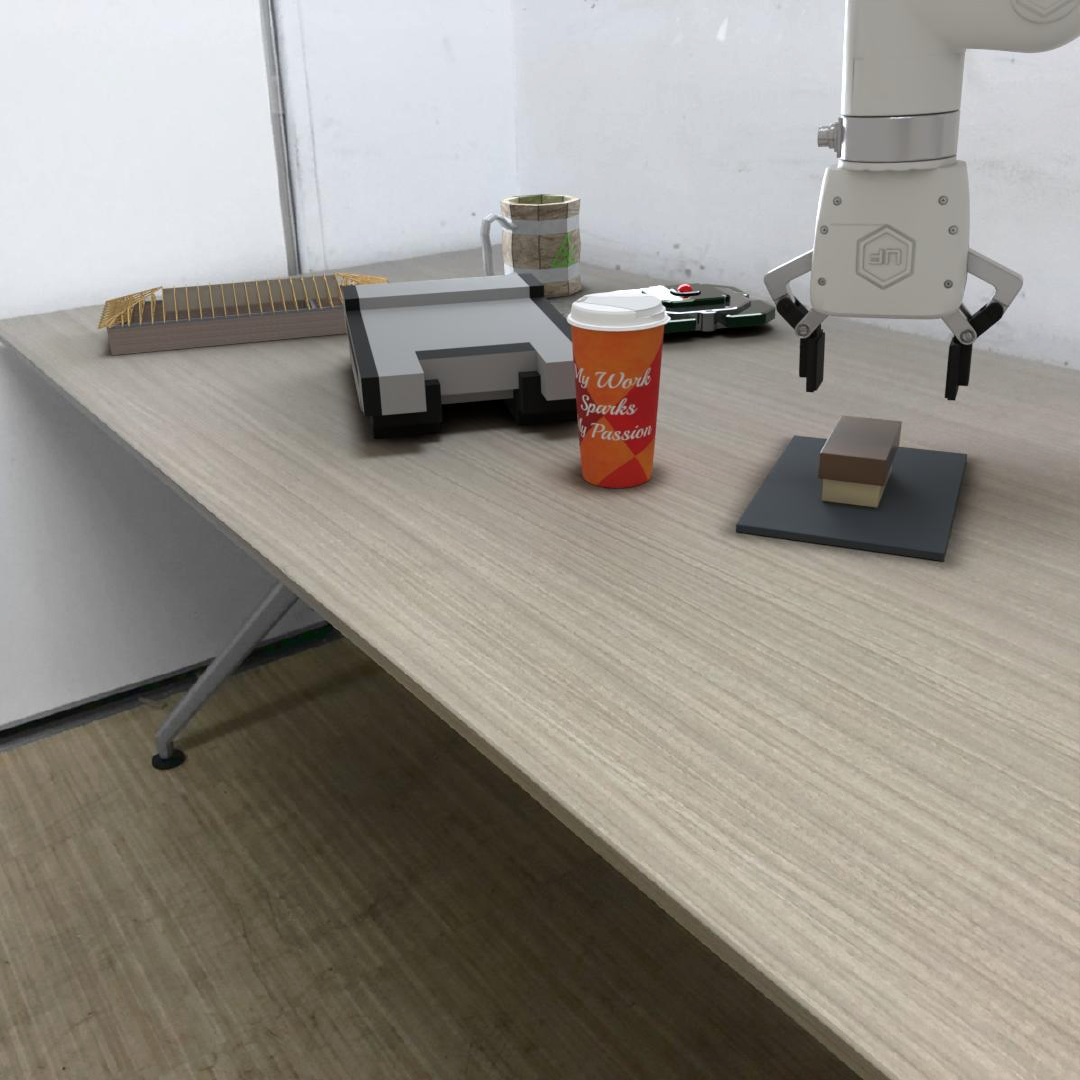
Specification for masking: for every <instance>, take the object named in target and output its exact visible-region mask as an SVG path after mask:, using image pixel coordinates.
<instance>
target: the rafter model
mask: <svg viewBox="0 0 1080 1080" xmlns="http://www.w3.org/2000/svg"><path fill="white" fill-rule="evenodd" d="M337 275H338V276H340V277H341V280H340V282H339V279H338V277H337ZM379 283H391V282H390V281H389V279H387V277H381V276H374V275H373V276H371V275H363V274H354V273H345V272H338V271H337V272H336V271H335V272H334V273H333V274H327V275H326V274H325V273H323V274H322V275H314V274H313V273H312V274H311V276H303V275H300V277H292V276H291V275H289V277H288V278H280V276H278V278H277V279H269V277H266V280H257V279H255V280H253V281H252V280H251V281H246V280H245V279H243V281H241V282H234V280H232V281H231V282H230V283H227V282H226V283H222V282H220V283H215V284H211V282H208V284H205V285H204V284H203V285H199V283H198V282H197V284H196V285H191V286H187V284H185V286H179V287H175V285H174V284H173V287H166V288H165V287H163V286H158V287H154V288H150V289H146V290H142V291H138V292H135V293H131V294H128V295H124V296H120V297H115V298H113V299H109V300H108V299H107V300H105V302H104V305H103V308H102V309H103V310H102V313H101V315H100V319H99V321H98V324H97V327H96V328H97V330H100V329H104V328H105V329H106V331H107V338H108V342H109V348H110V353H111V356H119V355H129V354H130V355H131V354H139V353H151V352H152V353H153V352H160V351H172V350H183V349H193V348H204V347H213V346H225V345H226V346H227V345H236V344H246V343H247V344H248V343H257V342H267V341H279V340H289V339H300V338H310V337H312V338H313V337H320V336H321V337H323V336H332V335H343V334H347V332H346V327H345V317H344V307H343V297H342V287H341V286H350V285H365V284H379ZM159 290H161V298H162V299H157V296H156V294H155V293H156V292H158V291H159ZM149 297H150V300H146V299H147V298H149Z"/></svg>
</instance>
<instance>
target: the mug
mask: <svg viewBox="0 0 1080 1080" xmlns="http://www.w3.org/2000/svg"><path fill="white" fill-rule="evenodd" d="M499 204H500V210H501V214H498V213H495V212H491V213H489V214H488V215H486V216H485V217H484V218H482V220H481V224H480V230H479V236H480V237H479V238H480V244H481V254H482V267H483V274H484V276H495V273H494V264H493V247H492V241H491V237H490V236H491V235H490V234H491V224H492V223H493V222H494V221H496V222H497V223H498V225H499V226H500V227H501V228H502V236H501V250H502V259H503V265H504V266H503V267H504V275H511V274H526V273H531V274H532V275H534V276H535V277H536V278H537V279H538V280H539V281H540V282H541V283H542V284H543V285H544V297H545V298H546V299H548V298H558V297H559V298H560V297H568V296H572V295H573V294H575V293H577V292H579V291H581V290H583V287H582V281H581V251H582V250H581V249H582V243H581V232H580V208H581V198H579V197H576V196H573V195H570V194H548V193H546V194H545V193H539V194H528V195H527V194H525V195H513V196H510V197H507V198H504V199H500V200H499Z"/></svg>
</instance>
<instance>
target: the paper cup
mask: <svg viewBox="0 0 1080 1080" xmlns="http://www.w3.org/2000/svg"><path fill="white" fill-rule="evenodd" d="M665 311H666V308H665V307H664V306H662V302H661V299H659V298H658V297H656V296H653V295H649V294H644V293H634V292H612V291H608V292H607V291H606V292H597V293H596V292H595V293H589V294H585V295H583V296H582V297H579V298H578V299H576V300H575V301H573V303H571V309H570V313H568V315H567V317H566V319H567V322H568V323H569V324H571V330H572V347H573V364H574V376H575V389H576V402H577V416H578V420H577V427H578V440H579V453H580V455H579V456H580V465H581V475H582V478H583V480H584V481H586V482H587V483H589V484H591V485H594V486H598V487H603V488H611V489H623V488H632V487H636V486H637V487H638V486H640V485H644V484H645V483H647V482H648V481H649V480H650V479H651V478H652V474H653V466H654V456H655V446H656V445H655V444H656V432H657V422H658V411H659V409H658V408H659V399H660V398H659V397H660V396H659V395H660V383H661V370H662V369H661V368H662V358H663V357H662V356H663V346H664V334H665V333H664V324H667V323H668V322H669V321H670V317H669V316H668V315H667V313H666V312H665ZM663 333H664V334H663Z"/></svg>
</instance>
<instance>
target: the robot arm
mask: <svg viewBox="0 0 1080 1080" xmlns="http://www.w3.org/2000/svg"><path fill="white" fill-rule="evenodd" d="M844 10H845V11H844V12H845V14H844V16H845V17H844V31H843V32H844V33H843V34H844V35H843V36H844V37H843V57H842V58H843V59H842V79H841V81H842V82H841V98H840V99H841V101H840V104H841V105H840V115H841V116H838V118H837V119H838V120H836V121H835V123H830V124H829V125H823V126H818V130H817V139H816V140H817V141H816V142H817V147H818V148H828V149H831V150H832V149H833V150H834V151H833V152H834V153H836V159H838V162H837V163H833V164H831V165H828V166H826V168H825V171H824V175H823V179H822V183H821V187H820V193H819V194H820V195H819V199H818V204H817V205H818V206H817V212H816V218H815V219H816V220H815V226H814V227H815V228H814V237H813V244H812V245H813V247H812V249H810V250H808V251H807V252H805V253H802V254H800V255H799V256H796V257H794V258H793V259H791V260H789V261H786V262H785V263H782V264H781V265H779V266H777V267H775V268H773V269H771V270H769V271H768V272H767V273H766V274H765V275H764V277H763V284H764V285H765V287H766V290H767V292H768V294H769V295H770V298H771V300H772V301H773V303H774V306H775V308H776V309H775V310H776V312H777V313H778V314H779V316H781V318H783V320H784V321H785V322H786V323H787V324H788V325H789V326H790V327H791V328H792V329H793V330H794V334H795V335H796V336H797V337H798V338H799V356H798V357H799V358H798V360H799V362H798V376H799V378H803V379H804V378H805V379H806V382H805V392H806V393H814V392H817V391H818V390H819V388H820V386H821V385H822V384H823V381H824V373H825V372H824V370H825V368H824V367H825V349H826V346H825V345H826V332H825V331H824V328H822V323H823V322H824V321H825V320H826V319H827V318H828V317H836V318H857V319H859V318H861V319H885V320H886V319H891V320H942V322H943V323H944V324H945V325H946V326H947V328H948V329H949V330H950V331H951V333H952V334H953V336H952V337H951V340H950V342H949V344H948V345H949V346H948V352H947V353H948V355H947V366H946V376H945V387H944V399H947V401H954V402H955V401H956V400H957V395H958V392H959V387H968V386H969V385H970V384H969V383H970V376H971V367H972V366H971V365H972V355H973V346H974V343H975V342H976V340H977V339H978V338H979V337H980V336H982V335H983V334H984V333H986V332H987V331H988V330H989V329H990V328H991V327H993V326H994V325H995V324H997V323H998V322H999V321H1000V320H1002V318H1003V316H1004V315H1005V313H1006V311H1007V310H1008V308H1010V305H1011V304H1012V303H1013V301H1014V300H1015V299H1016V297H1017V295H1018V294H1019V293H1020V291H1021V289H1022V288H1023V286H1024V276H1023V275H1022V274H1020V273H1018V272H1017V271H1014V270H1013V269H1010V268H1009V267H1007V266H1005V265H1003V264H1001V263H999V262H998V261H996V260H994V259H991V258H990V257H988V256H986V255H984V254H982V253H980V252H979V251H977V250H976V249H975V250H974V249H973V248H972V247H970V233H971V232H970V231H971V229H970V228H971V227H970V226H971V225H970V223H971V216H970V215H971V214H970V213H971V206H970V201H971V200H970V199H971V197H970V183H969V173H968V166H967V162H966V161H965V160H961V159H957V154H958V143H959V131H960V119H961V104H962V95H963V93H962V92H963V81H964V70H965V59H966V52H967V50H984V51H985V50H986V51H1000V52H1011V53H1021V54H1040V53H1046V52H1050V51H1053V50H1056V49H1059V48H1061V47H1063V46H1066V45H1068V44H1070V43H1071V42H1074V41H1075V40H1076V39H1078V38H1079V37H1080V0H845V9H844ZM809 272H810V279H809V280H810V281H809V299H810V300H809V301H810V305H811V308H810V309H809V310H808V309H807V308H806V307H805V305H804V304H802V302H801V301H800V300H799V299H798V298H797V297H796V296H794V294H793V292H792V288H791V286H790V282H792V281H793V280H795V279H797V278H800V277H801V276H803V275H805V274H807V273H809ZM968 273H969V274H970V275H972V276H974V277H976V278H977V279H980V280H982V281H984V282H986V283H987V284H989V285H991V286H993V288H994V289H995V291H994V293H993V295H992V296H991V298H990V299H989V300H988V302H987V303H985V304H984V305H983V306H982V307H981V308H979V309H978V310H977V311H976V312H975V313H972V312H971V311H970V310H969V308H968V307H967V306H966V305H965V304H964V302H963V300H964V296H965V290H966V286H967V279H968Z"/></svg>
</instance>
